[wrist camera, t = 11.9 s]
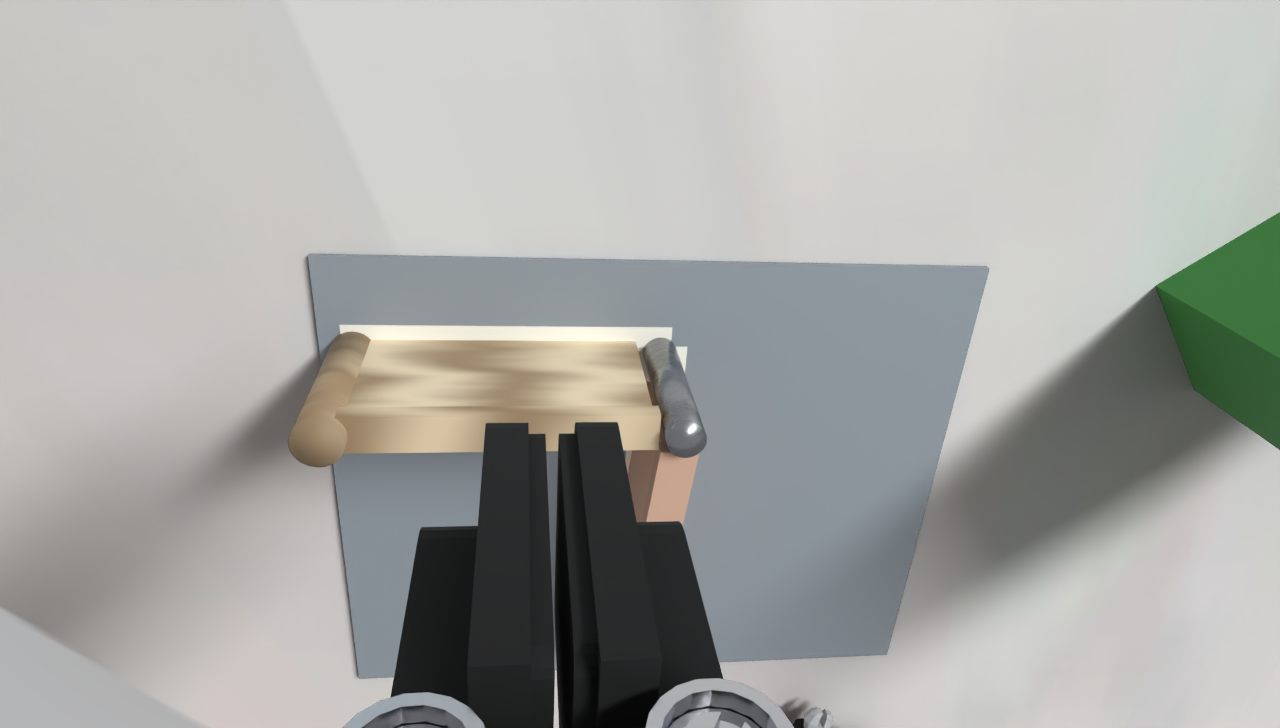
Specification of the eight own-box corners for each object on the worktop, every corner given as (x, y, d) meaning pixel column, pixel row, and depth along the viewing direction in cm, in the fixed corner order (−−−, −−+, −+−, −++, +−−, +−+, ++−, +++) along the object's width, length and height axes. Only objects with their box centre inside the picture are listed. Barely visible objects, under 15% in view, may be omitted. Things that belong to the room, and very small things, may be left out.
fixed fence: (333, 370, 39) (291, 467, 32) (328, 330, 38) (284, 421, 31) (674, 370, 41) (704, 461, 34) (678, 333, 40) (709, 418, 33)
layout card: (359, 674, 48) (358, 679, 48) (309, 253, 37) (307, 256, 36) (884, 650, 52) (887, 655, 52) (986, 266, 41) (989, 269, 40)
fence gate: (637, 376, 40) (656, 454, 34) (678, 380, 40) (704, 458, 34) (595, 603, 46) (605, 702, 40) (632, 605, 46) (647, 703, 41)
